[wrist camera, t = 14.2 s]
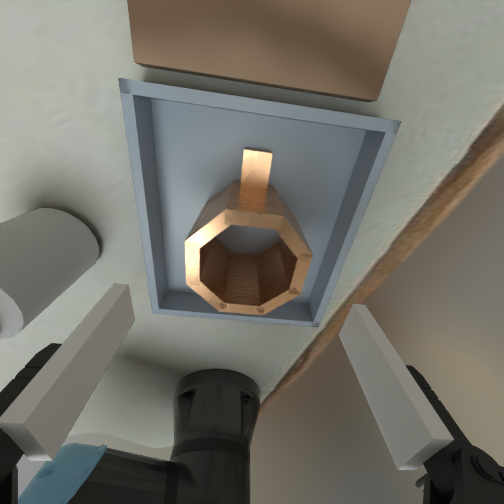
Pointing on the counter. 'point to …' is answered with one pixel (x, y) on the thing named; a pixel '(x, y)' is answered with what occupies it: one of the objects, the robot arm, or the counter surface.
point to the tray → (229, 169)
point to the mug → (242, 265)
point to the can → (40, 263)
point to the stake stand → (273, 41)
